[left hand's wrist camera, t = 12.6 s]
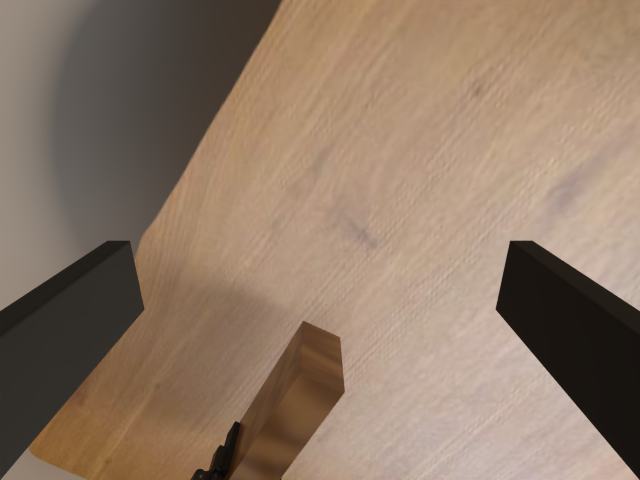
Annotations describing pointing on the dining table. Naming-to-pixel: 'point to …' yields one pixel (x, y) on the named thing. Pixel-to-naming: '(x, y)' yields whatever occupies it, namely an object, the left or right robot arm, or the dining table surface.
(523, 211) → the dining table surface
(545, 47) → the dining table surface
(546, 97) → the dining table surface
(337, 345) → the bar
